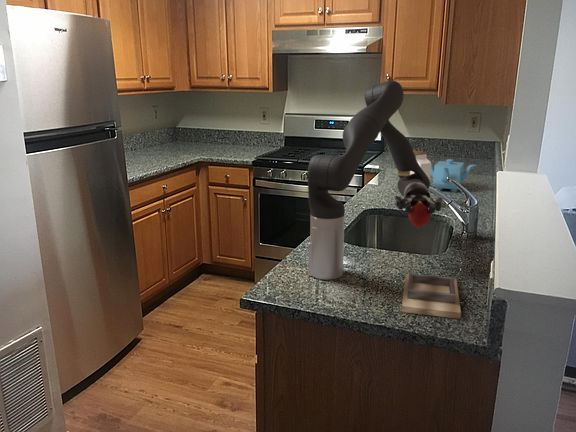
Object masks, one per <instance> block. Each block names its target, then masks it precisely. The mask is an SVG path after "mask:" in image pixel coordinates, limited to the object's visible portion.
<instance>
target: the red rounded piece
mask: <svg viewBox="0 0 576 432" xmlns="http://www.w3.org/2000/svg"><path fill="white" fill-rule="evenodd" d="M430 219H431V214H430V213H429V210H428V208H427V207H426V206H425V205H424V204H423V203H422V202H421V201H418V203H417V204H416V205H415V206H413V207H412V208H411V213H408V220H409V221H410V223H411V224H412V225H413V226H414V227H415V228H416V229H421V228H423V227H425V226H426V225H427V224H428V222H430Z"/></svg>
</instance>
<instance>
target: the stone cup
mask: <svg viewBox="0 0 576 432" xmlns="http://www.w3.org/2000/svg"><path fill="white" fill-rule="evenodd" d="M413 152H414V155H415V157H416V156H417V155H425V154H426V152H425V151H423V150H421V151H420V150H414V149H413ZM408 175H410V171H406V172H400V171H398V172H397V176H398V177H400V178H403V177H405V176H408Z"/></svg>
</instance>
